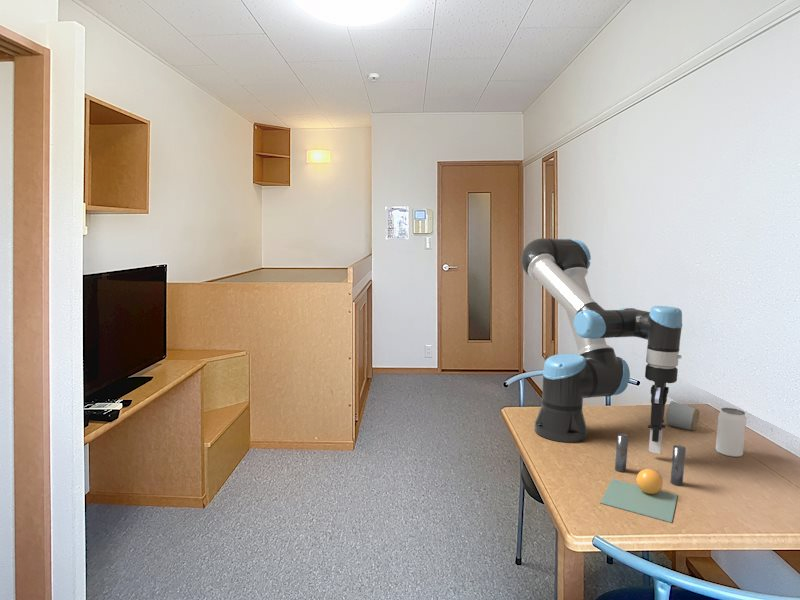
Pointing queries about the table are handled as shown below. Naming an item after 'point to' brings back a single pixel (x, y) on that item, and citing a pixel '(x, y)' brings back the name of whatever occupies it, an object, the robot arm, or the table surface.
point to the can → (731, 432)
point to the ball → (649, 481)
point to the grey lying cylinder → (682, 416)
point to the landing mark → (640, 500)
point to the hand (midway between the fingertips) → (654, 451)
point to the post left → (621, 452)
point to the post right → (678, 465)
